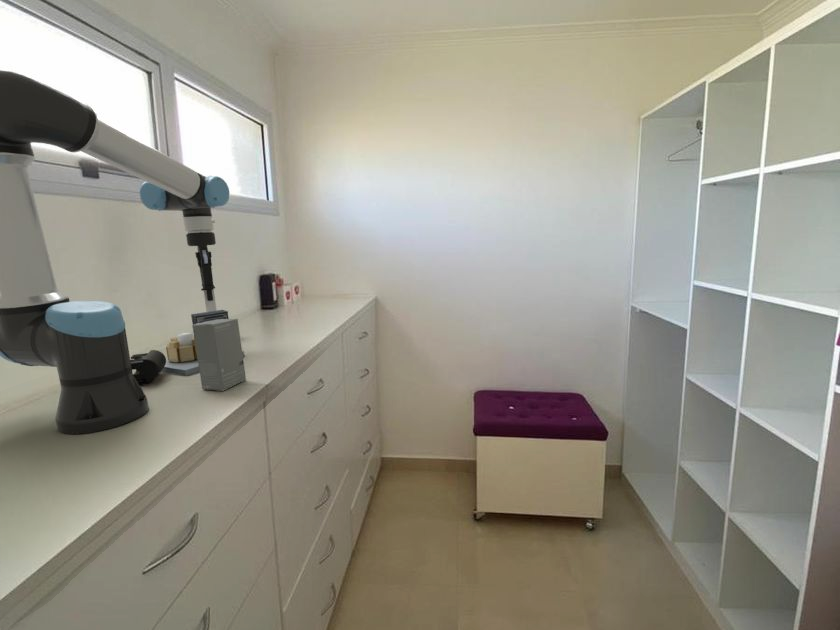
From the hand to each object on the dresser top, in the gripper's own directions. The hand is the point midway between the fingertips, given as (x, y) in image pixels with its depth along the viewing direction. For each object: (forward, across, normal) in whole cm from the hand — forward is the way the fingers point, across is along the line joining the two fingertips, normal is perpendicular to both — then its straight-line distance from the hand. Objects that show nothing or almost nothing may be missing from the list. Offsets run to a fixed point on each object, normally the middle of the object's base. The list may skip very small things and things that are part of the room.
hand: (211, 310), depth 133 cm
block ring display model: (+13, -7, +7) cm, 16 cm away
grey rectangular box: (+13, -34, +2) cm, 37 cm away
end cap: (+14, -17, +18) cm, 28 cm away
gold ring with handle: (+12, -6, +5) cm, 14 cm away
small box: (+14, +18, -1) cm, 23 cm away
